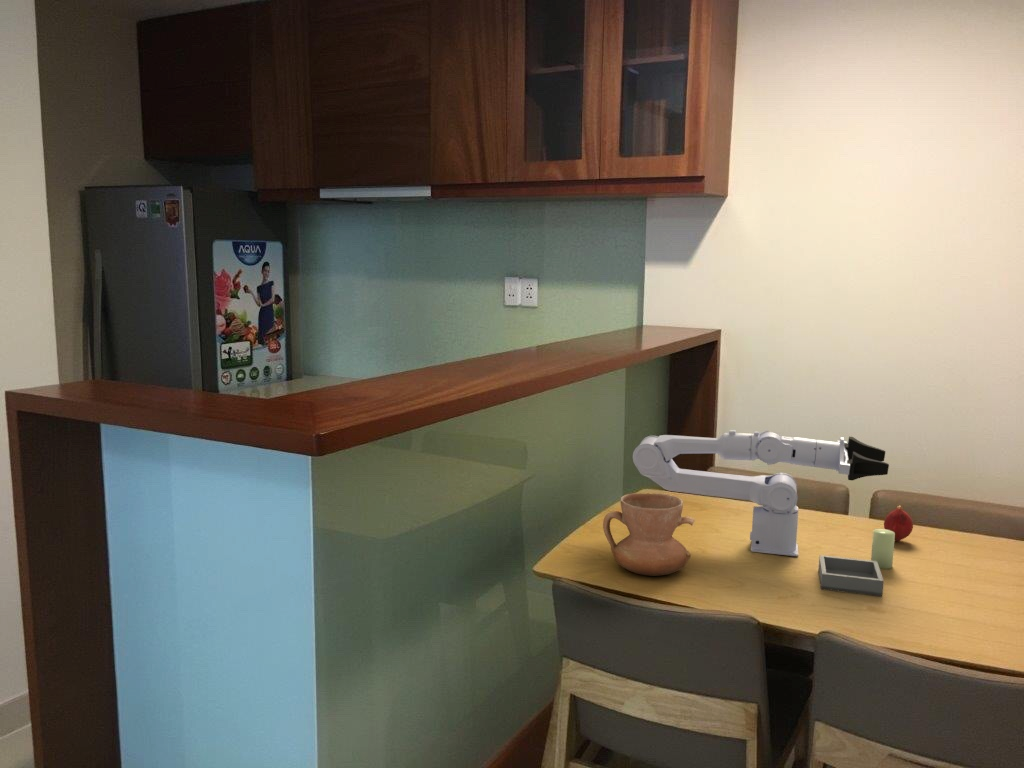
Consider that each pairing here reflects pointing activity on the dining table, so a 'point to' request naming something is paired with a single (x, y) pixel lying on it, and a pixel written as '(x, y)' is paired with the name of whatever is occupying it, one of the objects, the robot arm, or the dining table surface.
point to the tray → (850, 575)
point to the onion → (899, 523)
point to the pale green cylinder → (883, 548)
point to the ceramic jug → (649, 534)
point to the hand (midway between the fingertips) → (886, 462)
